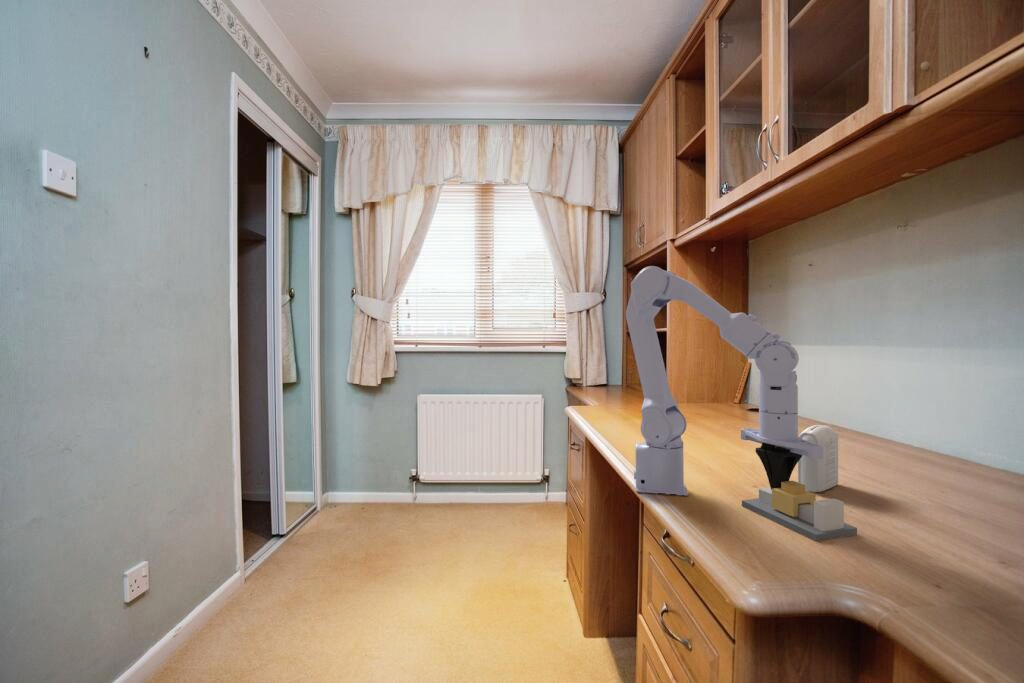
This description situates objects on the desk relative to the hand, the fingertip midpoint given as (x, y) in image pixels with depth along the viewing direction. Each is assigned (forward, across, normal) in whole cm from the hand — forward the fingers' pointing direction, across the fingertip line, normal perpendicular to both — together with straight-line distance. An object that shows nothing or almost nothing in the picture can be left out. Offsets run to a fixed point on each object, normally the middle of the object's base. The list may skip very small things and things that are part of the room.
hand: (778, 490), depth 74 cm
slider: (+2, -3, 0) cm, 4 cm away
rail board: (+4, -3, 0) cm, 5 cm away
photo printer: (+4, +8, -18) cm, 20 cm away
